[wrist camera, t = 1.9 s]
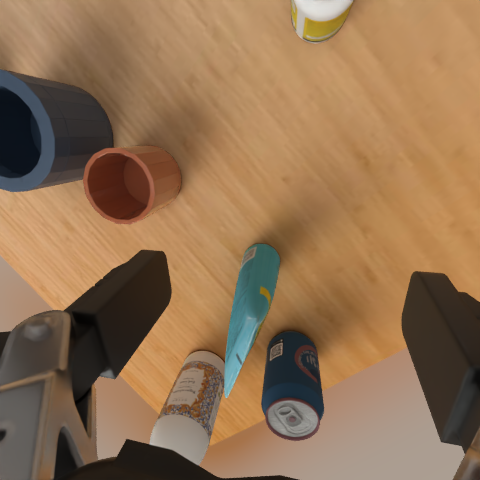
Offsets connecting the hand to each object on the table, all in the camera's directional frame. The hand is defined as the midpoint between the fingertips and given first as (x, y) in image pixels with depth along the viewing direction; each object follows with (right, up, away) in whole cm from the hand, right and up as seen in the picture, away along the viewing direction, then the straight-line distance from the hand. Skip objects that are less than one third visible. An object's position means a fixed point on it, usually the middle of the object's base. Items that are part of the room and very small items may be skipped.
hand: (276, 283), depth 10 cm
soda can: (+6, -14, +33) cm, 37 cm away
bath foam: (-6, -18, +37) cm, 42 cm away
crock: (-12, +9, +28) cm, 32 cm away
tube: (+2, -1, +30) cm, 30 cm away
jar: (-23, +15, +28) cm, 39 cm away
